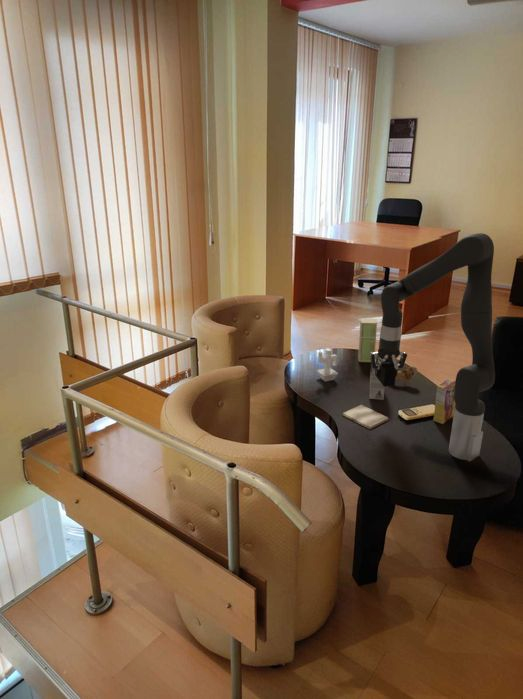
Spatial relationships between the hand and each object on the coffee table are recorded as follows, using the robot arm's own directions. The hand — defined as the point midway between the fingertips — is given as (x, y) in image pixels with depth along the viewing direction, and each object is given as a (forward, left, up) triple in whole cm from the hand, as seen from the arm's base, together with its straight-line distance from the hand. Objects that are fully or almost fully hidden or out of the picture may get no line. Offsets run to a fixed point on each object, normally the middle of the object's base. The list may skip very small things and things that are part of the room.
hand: (385, 377), depth 192 cm
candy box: (-15, -19, -18) cm, 30 cm away
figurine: (+40, -10, -18) cm, 45 cm away
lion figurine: (+15, -31, -18) cm, 39 cm away
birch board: (+5, +4, -18) cm, 19 cm away
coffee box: (+15, -15, -18) cm, 28 cm away
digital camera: (0, 0, -1) cm, 1 cm away
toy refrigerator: (+43, -41, -18) cm, 62 cm away
